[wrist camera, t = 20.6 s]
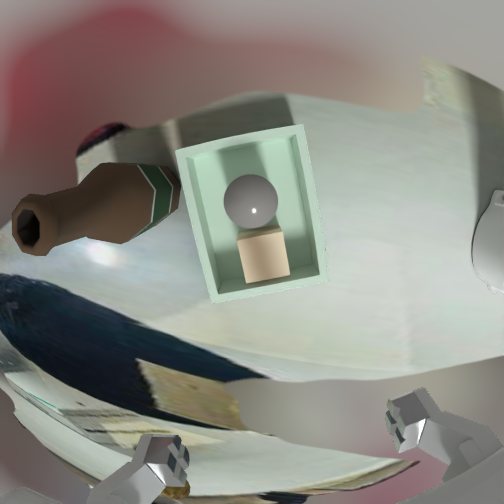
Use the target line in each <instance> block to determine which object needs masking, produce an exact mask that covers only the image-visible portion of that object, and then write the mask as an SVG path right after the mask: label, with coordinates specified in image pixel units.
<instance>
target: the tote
mask: <svg viewBox="0 0 504 504" xmlns="http://www.w3.org/2000/svg"><path fill="white" fill-rule="evenodd" d="M175 153H176V157H177V162H178V167H179V172H180V176H181V181H182V186H183V190H184V195H185V199H186V203H187V208H188V212H189V216H190V221H191V225H192V229H193V233H194V237H195V241H196V245H197V249H198V253H199V257H200V261H201V265H202V269H203V272H204V276H205V280H206V284H207V287H208V291H209V295H210V298H211V302H212V304H213V303H219V302H224V301H230V300H236V299H241V298H247V297H252V296H258V295H263V294H268V293H274V292H279V291H284V290H289V289H294V288H299V287H304V286H309V285H313V284H318V283H323V282H327V281H329V275H328V267H327V259H326V252H325V244H324V237H323V231H322V224H321V217H320V211H319V205H318V199H317V193H316V187H315V182H314V176H313V171H312V166H311V160H310V155H309V150H308V145H307V141H306V136H305V131H304V127H303V124H300V125H293V126H286V127H280V128H274V129H268V130H263V131H257V132H252V133H247V134H242V135H237V136H232V137H228V138H223V139H219V140H214V141H210V142H206V143H202V144H198V145H194V146H190V147H186V148H182V149H178V150H175ZM248 174H254V175H259V176H262V177H264V178H265V179H267V180H268V181H269V182H270V183H271V184H272V185H273V186H274V188H275V190H276V192H277V195H278V207H277V211H276V213H275V215H274V217H273V218H272V219H271V220H270V221H269V222H268V223H267V224H265V225H263V226H261V227H265V226H270V225H275V224H279V226H280V227H281V229H282V231H283V236H284V242H285V247H286V253H287V259H288V264H289V270H290V275H288V276H283V277H278V278H272V279H267V280H262V281H257V282H252V283H246V280H245V276H244V271H243V267H242V262H241V258H240V253H239V249H238V244H237V237H238V233H239V231H244V230H249V229H254V228H244V227H241V226H239V225H237V224H235V223H234V222H233V221H232V220H231V219H230V218H229V217H228V215H227V214H226V212H225V209H224V194H225V191H226V189H227V187H228V186H229V184H230V183H231V182H232V181H233V180H235V179H236V178H238V177H240V176H243V175H248ZM258 228H260V227H258Z"/></svg>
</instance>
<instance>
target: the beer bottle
mask: <svg viewBox="0 0 504 504" xmlns="http://www.w3.org/2000/svg"><path fill="white" fill-rule="evenodd" d="M180 190H181V185H180V183H179V182H178V180H177V179H176V178H175V176H174V175H173V174H172V172H171V171H170V169H169V168H168V167H165V166H157V165H147V164H134V163H113V162H108V163H101V164H99V165H98V166H97V167H96V168H94V169H93V170H92V171H91V172H90V173H89V174H88V175H87V176H86V177H85V178H84V179H83V180H82V182H81V183H80V184H79V185H78V186H77V187H74V188H70V189H66V190H62V191H58V192H55V193H51V194H48V195H36V194H29V195H27V196H26V197H24V198H23V199H21V201H20V202H19V204H18V205H17V207H16V208H15V210H14V211H13V213H12V235H13V237H14V239H15V241H16V242H17V244H18V246H19V248H20V249H21V251H22V252H24V253H27V254H31V255H35V256H46V255H47V254H48V253H49V251H50V250H51V249H52V248H53V247H55V246H58V245H61V244H64V243H67V242H70V241H73V240H76V239H79V238H82V237H86V236H87V237H88V238H91V239H96V240H101V241H106V242H111V243H117V244H123V243H125V242H128V241H130V240H131V239H133V238H135V237H137V236H138V235H140V234H142V233H143V232H145V231H147V230H149V229H150V228H152V227H154V226H156V225H157V224H158V223H160V222H161V221H162V220H164V219H165V218H166V217H167V216H169V215H170V214H171V213H172V212H174V211H175V210H176V209H178V204H179V197H180Z"/></svg>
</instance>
